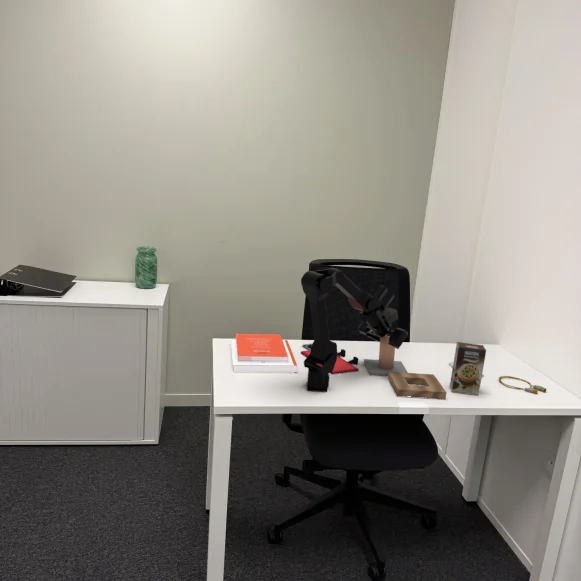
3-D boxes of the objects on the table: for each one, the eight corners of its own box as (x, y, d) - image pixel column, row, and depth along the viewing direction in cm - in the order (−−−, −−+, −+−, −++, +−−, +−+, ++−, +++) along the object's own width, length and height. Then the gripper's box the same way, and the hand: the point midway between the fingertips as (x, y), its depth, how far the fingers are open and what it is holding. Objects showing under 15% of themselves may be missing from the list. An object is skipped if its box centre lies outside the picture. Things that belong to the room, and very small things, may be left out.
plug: (385, 370, 220) (387, 339, 217) (375, 365, 225) (377, 334, 221) (396, 367, 223) (399, 336, 220) (386, 362, 228) (388, 331, 224)
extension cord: (519, 396, 210) (520, 391, 210) (491, 379, 224) (492, 374, 224) (548, 394, 214) (549, 389, 213) (519, 377, 228) (520, 372, 228)
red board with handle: (324, 344, 247) (291, 348, 240) (324, 337, 247) (291, 341, 240) (367, 371, 222) (331, 376, 215) (367, 364, 221) (332, 369, 214)
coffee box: (451, 392, 207) (458, 346, 204) (449, 385, 214) (456, 341, 210) (479, 396, 206) (486, 350, 203) (476, 388, 213) (483, 344, 209)
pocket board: (396, 396, 200) (397, 389, 199) (387, 378, 215) (388, 371, 215) (445, 399, 201) (446, 392, 200) (432, 381, 216) (433, 374, 216)
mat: (369, 375, 217) (370, 372, 217) (363, 361, 231) (364, 358, 231) (409, 377, 218) (409, 374, 218) (400, 363, 231) (401, 361, 231)
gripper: (408, 308, 209) (423, 335, 219) (367, 295, 223) (383, 321, 232) (390, 333, 206) (407, 359, 215) (349, 319, 219) (367, 344, 229)
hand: (391, 345), depth 223 cm, fingers open, 7 cm apart
